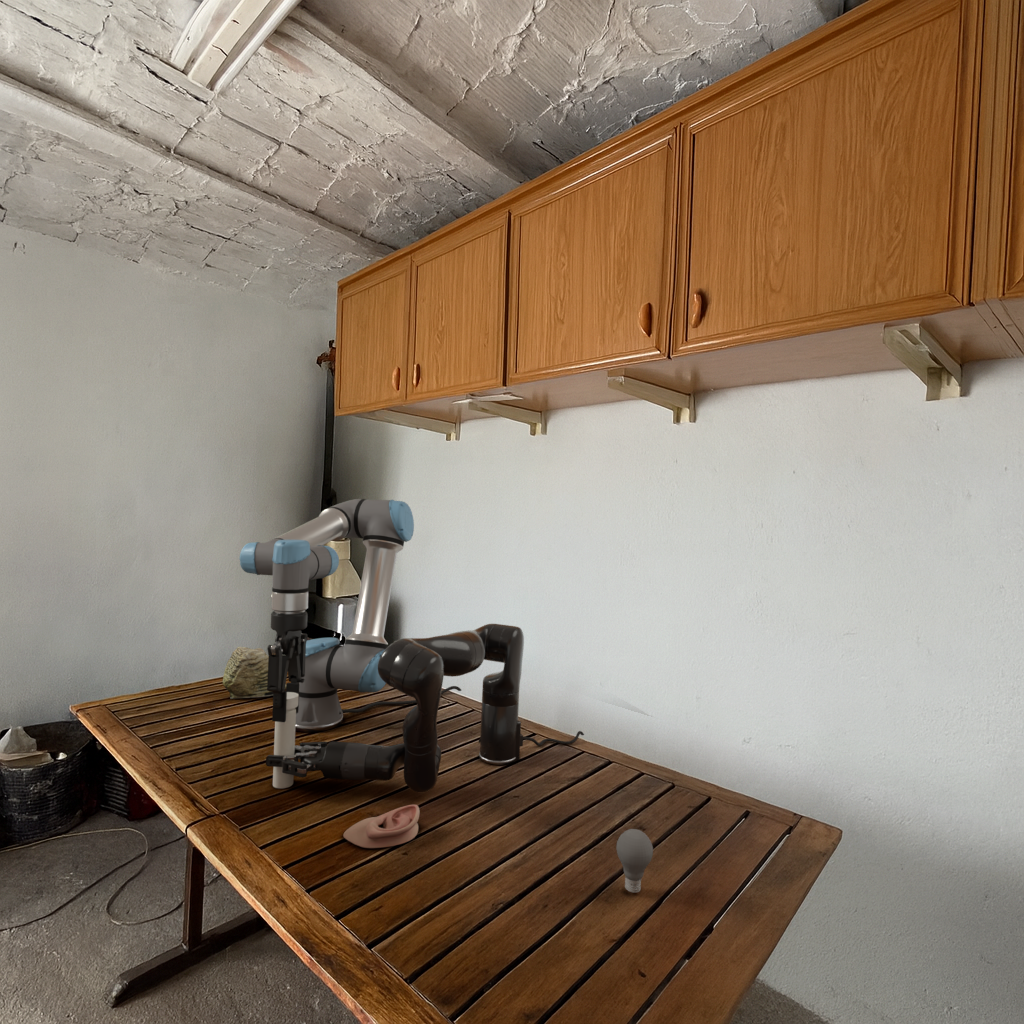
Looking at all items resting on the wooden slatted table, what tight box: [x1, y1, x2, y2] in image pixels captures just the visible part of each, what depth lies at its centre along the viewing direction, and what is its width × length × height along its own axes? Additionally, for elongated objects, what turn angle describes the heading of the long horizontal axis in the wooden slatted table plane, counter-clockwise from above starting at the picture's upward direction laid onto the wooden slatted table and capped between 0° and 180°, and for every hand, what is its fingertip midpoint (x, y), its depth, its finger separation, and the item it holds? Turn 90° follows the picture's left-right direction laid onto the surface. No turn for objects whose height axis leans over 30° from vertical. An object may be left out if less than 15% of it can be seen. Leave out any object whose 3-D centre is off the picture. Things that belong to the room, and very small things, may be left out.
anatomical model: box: [342, 804, 421, 849], centre depth 120 cm, size 13×4×12 cm
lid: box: [286, 692, 299, 710], centre depth 138 cm, size 5×5×2 cm
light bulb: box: [615, 828, 654, 894], centre depth 106 cm, size 6×6×10 cm
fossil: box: [222, 646, 286, 699], centre depth 198 cm, size 9×18×15 cm, turn 132°
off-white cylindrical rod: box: [272, 708, 296, 789], centre depth 139 cm, size 4×4×18 cm
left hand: (285, 716), depth 139 cm, fingers closed on lid, 5 cm apart
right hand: (271, 755), depth 139 cm, fingers closed on off-white cylindrical rod, 4 cm apart
